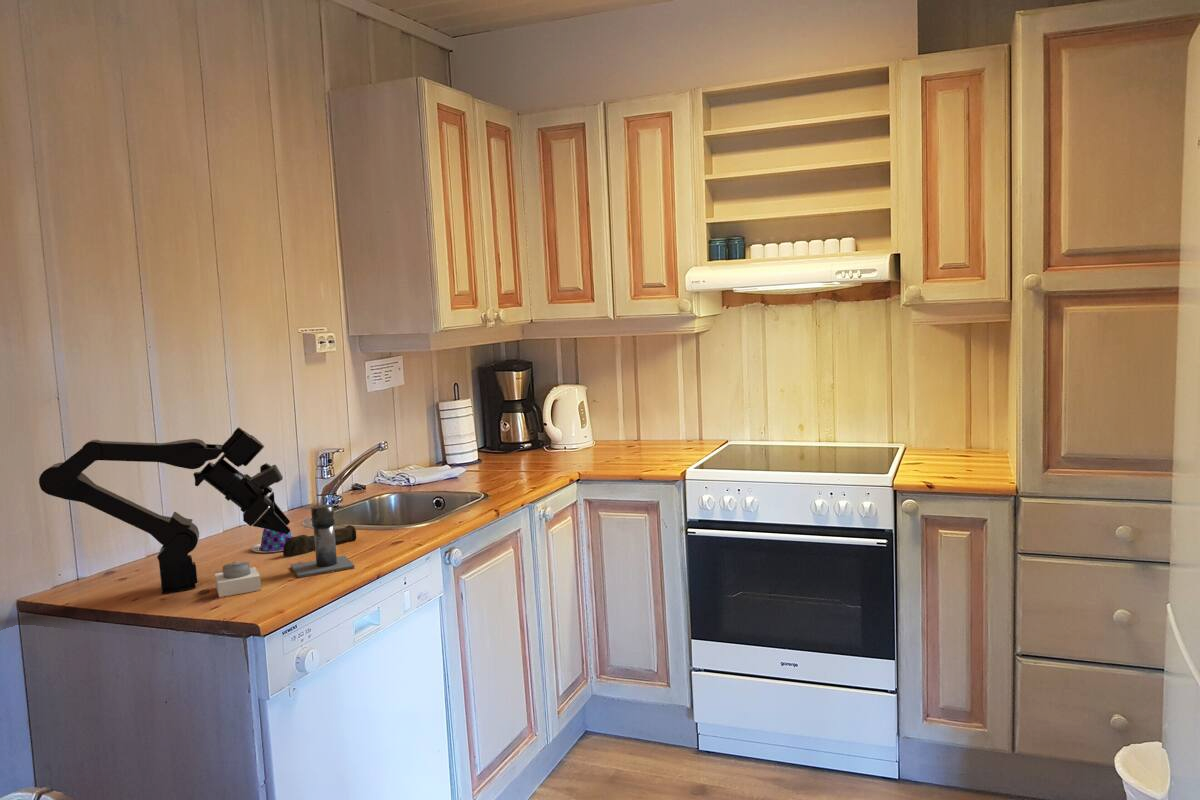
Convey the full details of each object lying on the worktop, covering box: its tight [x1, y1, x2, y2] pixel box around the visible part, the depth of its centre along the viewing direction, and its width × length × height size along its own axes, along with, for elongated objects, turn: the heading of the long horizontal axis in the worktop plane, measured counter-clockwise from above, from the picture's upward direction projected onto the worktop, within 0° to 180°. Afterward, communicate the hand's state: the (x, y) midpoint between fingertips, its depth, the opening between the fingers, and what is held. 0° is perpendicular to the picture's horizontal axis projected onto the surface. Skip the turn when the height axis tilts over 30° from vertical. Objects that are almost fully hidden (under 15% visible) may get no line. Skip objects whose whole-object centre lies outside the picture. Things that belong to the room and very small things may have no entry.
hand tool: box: [282, 524, 357, 558], centre depth 217 cm, size 19×4×5 cm, turn 137°
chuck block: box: [214, 561, 262, 598], centre depth 186 cm, size 8×8×6 cm
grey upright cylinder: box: [310, 504, 338, 567], centre depth 199 cm, size 5×5×13 cm
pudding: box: [251, 525, 293, 553], centre depth 220 cm, size 12×12×5 cm
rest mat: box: [290, 555, 355, 579], centre depth 199 cm, size 12×10×1 cm
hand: (288, 527), depth 196 cm, fingers open, 9 cm apart
